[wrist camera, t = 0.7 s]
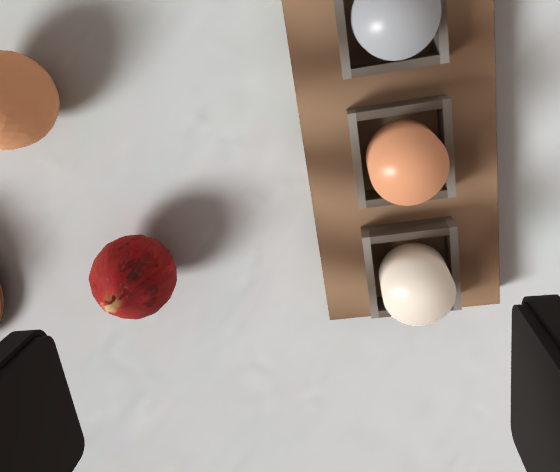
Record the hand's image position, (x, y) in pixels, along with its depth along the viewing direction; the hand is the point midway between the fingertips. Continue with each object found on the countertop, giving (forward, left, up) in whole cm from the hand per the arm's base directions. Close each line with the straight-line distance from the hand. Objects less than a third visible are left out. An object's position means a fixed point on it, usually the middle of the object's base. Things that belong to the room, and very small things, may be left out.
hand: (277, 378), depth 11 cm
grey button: (-6, +5, -24) cm, 25 cm away
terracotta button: (+2, +5, -24) cm, 24 cm away
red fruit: (+8, -14, -28) cm, 32 cm away
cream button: (+10, +5, -24) cm, 26 cm away
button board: (+2, +5, -27) cm, 28 cm away
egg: (-5, -19, -28) cm, 34 cm away
